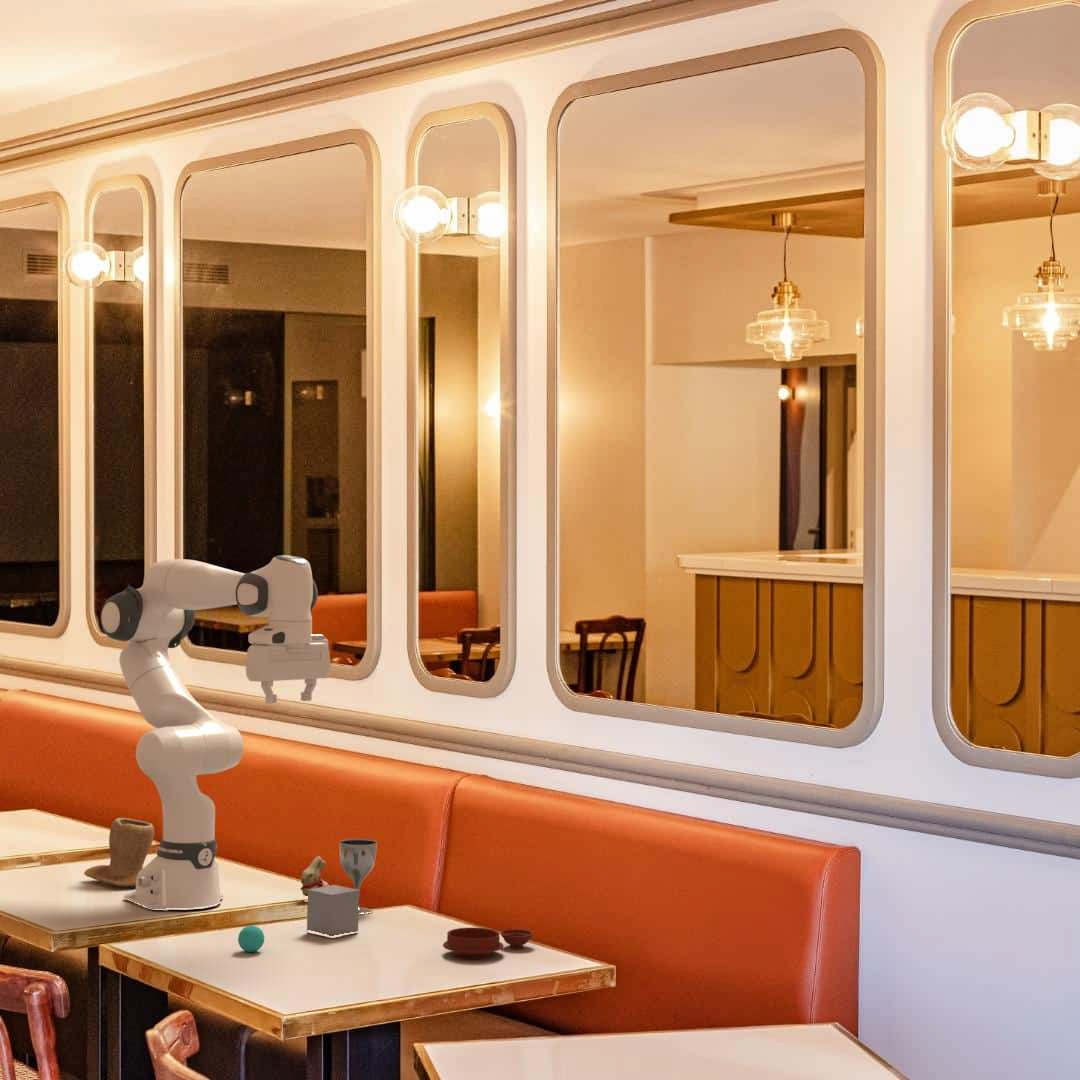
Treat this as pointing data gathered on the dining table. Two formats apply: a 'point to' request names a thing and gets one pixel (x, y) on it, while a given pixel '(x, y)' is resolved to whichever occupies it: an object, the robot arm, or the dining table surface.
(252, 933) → the ball
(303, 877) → the chocolate bunny
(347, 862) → the wine glass
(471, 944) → the pottery
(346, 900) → the grey matte cube
